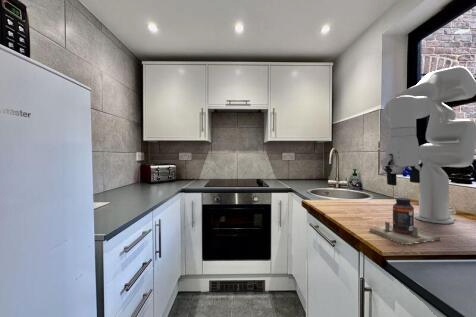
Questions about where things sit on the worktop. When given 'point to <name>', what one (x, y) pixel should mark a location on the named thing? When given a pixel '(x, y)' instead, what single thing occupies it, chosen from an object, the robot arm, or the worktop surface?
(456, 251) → the worktop surface
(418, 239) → the pin board
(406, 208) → the supplement bottle
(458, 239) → the worktop surface
